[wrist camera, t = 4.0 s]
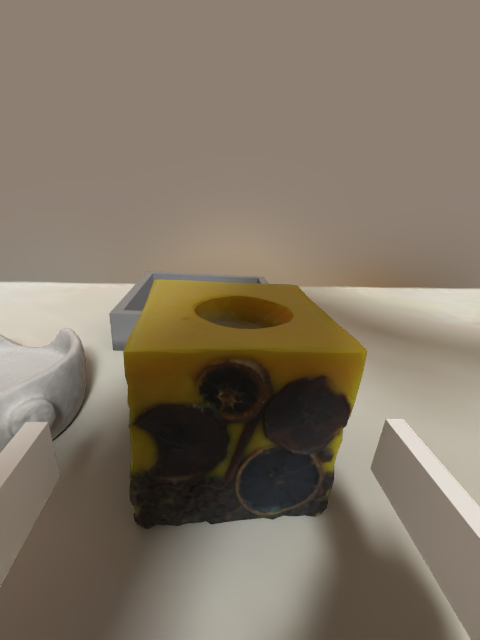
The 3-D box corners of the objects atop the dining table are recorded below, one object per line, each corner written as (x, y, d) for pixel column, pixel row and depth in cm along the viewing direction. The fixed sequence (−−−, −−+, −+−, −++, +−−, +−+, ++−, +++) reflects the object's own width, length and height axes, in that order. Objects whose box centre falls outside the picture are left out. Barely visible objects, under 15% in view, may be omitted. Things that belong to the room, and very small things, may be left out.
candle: (156, 401, 24) (150, 277, 20) (280, 398, 25) (297, 282, 21) (128, 535, 14) (107, 349, 10) (329, 519, 16) (374, 349, 12)
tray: (261, 300, 49) (263, 276, 47) (285, 353, 32) (290, 319, 31) (148, 296, 47) (147, 271, 46) (113, 349, 30) (109, 313, 29)
